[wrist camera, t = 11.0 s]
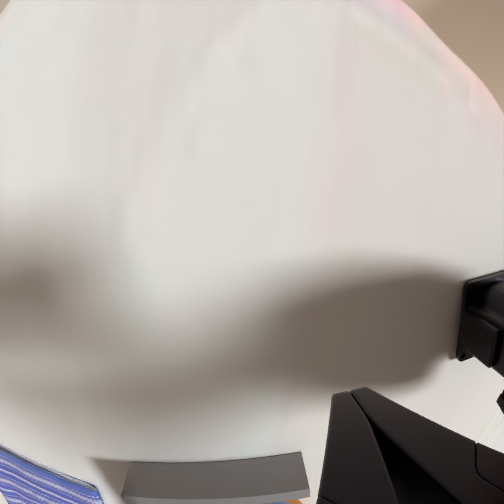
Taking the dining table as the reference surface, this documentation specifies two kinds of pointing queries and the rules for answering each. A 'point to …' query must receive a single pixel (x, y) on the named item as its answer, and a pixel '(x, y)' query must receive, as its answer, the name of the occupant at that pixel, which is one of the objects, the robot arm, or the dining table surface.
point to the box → (218, 481)
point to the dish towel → (40, 483)
